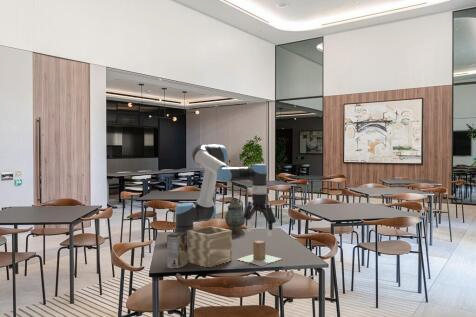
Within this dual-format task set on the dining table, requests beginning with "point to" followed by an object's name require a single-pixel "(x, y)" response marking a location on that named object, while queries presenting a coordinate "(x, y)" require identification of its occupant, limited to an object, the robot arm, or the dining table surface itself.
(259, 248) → the lid
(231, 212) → the dark green urn
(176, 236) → the coffee box
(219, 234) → the box
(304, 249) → the dining table surface
